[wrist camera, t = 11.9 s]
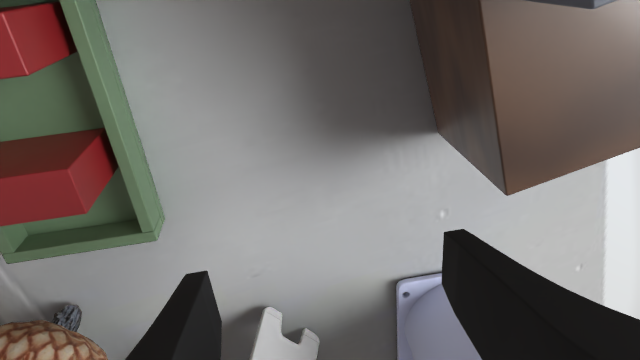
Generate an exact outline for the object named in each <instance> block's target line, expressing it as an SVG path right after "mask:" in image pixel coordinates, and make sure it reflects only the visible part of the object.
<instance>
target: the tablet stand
mask: <svg viewBox="0 0 640 360" xmlns="http://www.w3.org/2000/svg"><path fill="white" fill-rule="evenodd" d="M262 312H263V313H262V316H261V320H260V323H259V327H258V330H257V334H256V338H255V341H254V345H253V349H252V352H251V356H250V360H316V359H317V353H318V347H319V338H318V336H317V335H316V334H315V333H313V332H311V331H310V330H308V329H306V328H304V329H303V332H302V335H301V338H300V341H299V343H298V344H295V343H294V342H292V341H290V340H289V339H287V338H285V337H284V336H283V335H282V334H281V323H282V313H280V312H278V311H277V310H275V309H274V308H272V307H266V308H265V309H264V310H263V311H262Z"/></svg>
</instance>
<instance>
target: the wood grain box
mask: <svg viewBox="0 0 640 360" xmlns="http://www.w3.org/2000/svg"><path fill="white" fill-rule="evenodd" d="M410 5H411V10H412V14H413V19H414V23H415V28H416V32H417V37H418V42H419V46H420V51H421V55H422V60H423V64H424V69H425V74H426V78H427V83H428V87H429V92H430V97H431V101H432V106H433V110H434V115H435V119H436V124H437V129H438V133H439V134H440V135H441V136H442V137H443V138H444V139H445V140H446V141H448V142H449V143H450V144H451V145H452V146H453V147H454V148H455V149H456V150H457V151H458V152H459V153H461V154H462V155H463V156H464V157H465V158H466V159H467V160H468V161H469V162H470V163H471V164H472V165H474V166H475V167H476V168H477V169H478V170H479V171H480V172H481V173H482V174H483V175H484V176H486V177H487V178H488V179H489V180H490V181H491V182H492V183H493V184H494V185H495V186H496V187H497V188H499V189H500V190H501V191H502V192H503V193H504V194H505V195H507V196H508V195H511V194H514V193H516V192H519V191H522V190H525V189H527V188H530V187H533V186H536V185H538V184H541V183H544V182H547V181H549V180H552V179H555V178H558V177H560V176H563V175H566V174H568V173H571V172H574V171H577V170H579V169H582V168H585V167H588V166H590V165H593V164H596V163H599V162H601V161H604V160H607V159H610V158H612V157H615V156H618V155H620V154H623V153H625V152H629V151H631V150H634V149H637V148H640V0H617V1H614V2H611V3H609V4H606V5H604V6H601V7H598V8H596V9H584V8H577V7H569V6H562V5H554V4H547V3H539V2H532V1H524V0H410Z"/></svg>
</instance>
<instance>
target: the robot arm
mask: <svg viewBox="0 0 640 360" xmlns="http://www.w3.org/2000/svg"><path fill="white" fill-rule="evenodd" d="M404 292H406V293H405V294H403V293H404ZM396 293H397V360H640V320H639V319H636V318H634V317H631V316H628V315H626V314H623V313H620V312H618V311H615V310H612V309H610V308H608V307H605V306H603V305H600V304H598V303H596V302H593V301H591V300H589V299H587V298H585V297H582V296H580V295H578V294H576V293H574V292H571V291H569V290H567V289H565V288H563V287H561V286H559V285H557V284H555V283H553V282H552V281H550V280H548V279H546V278H544V277H542V276H540V275H538V274H537V273H535V272H533V271H531V270H530V269H528V268H526V267H524V266H523V265H521V264H519V263H518V262H516V261H514V260H513V259H511V258H509V257H508V256H506V255H504V254H503V253H501V252H500V251H498V250H496V249H495V248H493V247H492V246H490V245H489V244H487V243H485V242H484V241H482V240H481V239H479V238H477V237H476V236H474V235H473V234H471V233H469V232H468V231H466V230H464V229H460V230H454V231H448V232H444V243H443V263H442V273H439V274H433V275H427V276H421V277H415V278H409V279H404V280H401V281H399V282H398V284H397V286H396ZM221 327H222V321H221V318H220V314H219V311H218V307H217V304H216V300H215V297H214V293H213V290H212V286H211V283H210V279H209V276H208V272H207V271H202V272H196V273H190V274H186V275H185V276H184V278H183V279H182V280H181V282H180V284H179V285H178V287H177V288H176V290H175V291H174V293H173V294H172V296H171V297H170V299H169V300H168V302H167V303H166V305H165V306H164V308H163V309H162V311H161V312H160V314H159V315H158V317H157V318H156V320H155V321H154V322H153V324H152V325H151V327H150V328H149V329H148V331H147V332H146V334H145V335H144V336H143V338H142V339H141V340H140V341H139V343H138V344H137V345H136V347H135V348H134V349H133V350H132V352H131V353H130V354H129V356H128V357H127V358H126V359H125V360H220V358H221Z"/></svg>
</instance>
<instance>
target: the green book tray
mask: <svg viewBox="0 0 640 360" xmlns="http://www.w3.org/2000/svg"><path fill="white" fill-rule="evenodd" d="M56 1H59V2H60V4H61V7H62V10H63V13H64V15H65V18H66V21H67V24H68V27H69V29H70V32H71V35H72V38H73V41H74V43H75V46H76V49H77V52H76V53H74V54H72V55H70V56H67V57H65V58H63V59H61V60H59V61H57V62H55V63H53V64H51V65H49V66H47V67H45V68H43V69H41V70H39V71H37V72H35V73H33V74H31V75H29V76H23V77H15V78H7V79H0V142H3V141H10V140H18V139H25V138H33V137H40V136H47V135H55V134H62V133H70V132H77V131H85V130H92V129H99V128H105V130H106V133H107V136H108V138H109V141H110V144H111V147H112V150H113V152H114V155H115V158H116V161H117V164H118V166H119V167H118V168H117V170H116V171H115V173H114V174H113V176H112V177H111V179H110V180H109V182H108V183H107V185H106V186H105V188H104V189H103V190H102V192H101V193H100V195H99V196H98V198H97V199H96V201H95V202H94V204H93V205H92V207H91V208H90V210H89V211H88V213H86V214H81V215H74V216H68V217H61V218H54V219H48V220H41V221H34V222H27V223H21V224H14V225H7V226H1V227H0V252H1V254H3V255H2V256H3V258H4V259H5V261H6V263H7V264H11V263H17V262H23V261H30V260H36V259H43V258H49V257H55V256H62V255H68V254H75V253H81V252H88V251H94V250H100V249H107V248H113V247H120V246H126V245H132V244H139V243H145V242H152V241H157V239H158V237H159V234H160V231H161V228H162V225H163V223H164V220H165V217H164V214H163V211H162V207H161V204H160V201H159V198H158V195H157V192H156V189H155V186H154V182H153V179H152V176H151V173H150V170H149V167H148V164H147V161H146V157H145V154H144V151H143V148H142V145H141V142H140V139H139V136H138V132H137V129H136V126H135V123H134V120H133V117H132V114H131V111H130V108H129V104H128V101H127V98H126V95H125V92H124V89H123V86H122V83H121V79H120V76H119V73H118V70H117V67H116V64H115V61H114V58H113V54H112V51H111V48H110V45H109V42H108V39H107V36H106V33H105V29H104V26H103V23H102V20H101V17H100V14H99V11H98V8H97V4H96V1H95V0H0V8H2V7H11V6H20V5H29V4H38V3H47V2H56Z"/></svg>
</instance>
